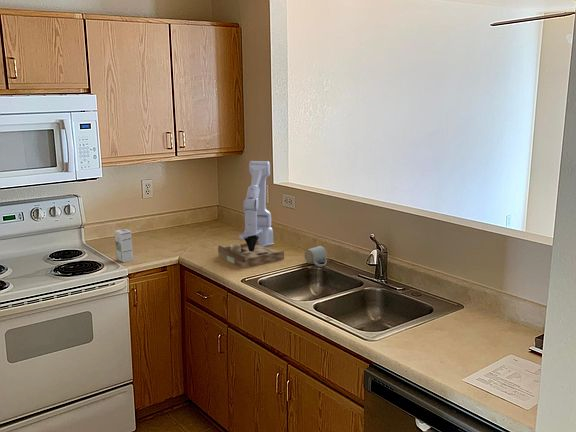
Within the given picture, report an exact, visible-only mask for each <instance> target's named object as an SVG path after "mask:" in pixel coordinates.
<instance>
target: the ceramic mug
mask: <svg viewBox="0 0 576 432" xmlns="http://www.w3.org/2000/svg"><path fill="white" fill-rule="evenodd" d="M327 257H328V255H327V251H326V249H325V247H323V246H322V245H319V246H316V247H311V248H308V249H306V250H305V252H304V259H305V261H306V263H307V264H308V265H315V266H316V267H319V268H323V266H324V267H326V264H327V261H328V260H327Z"/></svg>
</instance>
